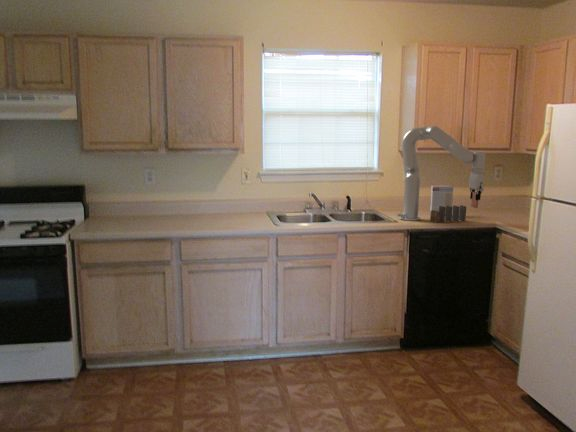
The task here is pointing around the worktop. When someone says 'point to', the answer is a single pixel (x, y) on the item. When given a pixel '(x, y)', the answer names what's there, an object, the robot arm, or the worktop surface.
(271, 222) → the worktop surface
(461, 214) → the domino
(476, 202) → the domino
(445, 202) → the cracker box
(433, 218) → the end block
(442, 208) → the domino
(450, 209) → the domino
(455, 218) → the domino
